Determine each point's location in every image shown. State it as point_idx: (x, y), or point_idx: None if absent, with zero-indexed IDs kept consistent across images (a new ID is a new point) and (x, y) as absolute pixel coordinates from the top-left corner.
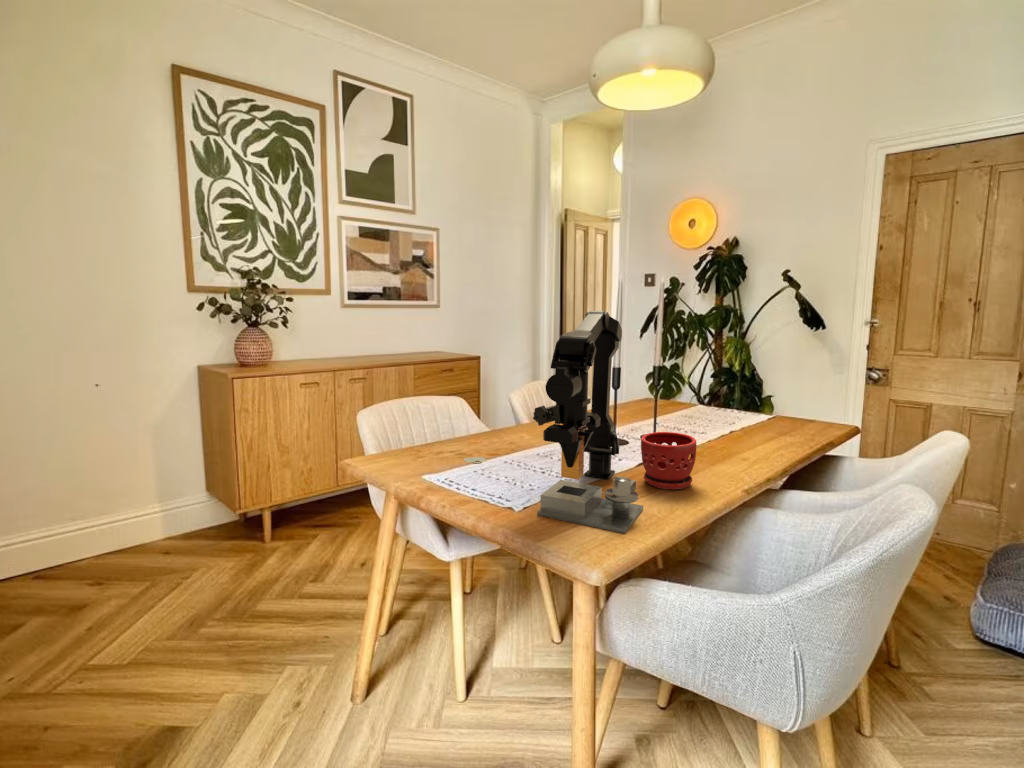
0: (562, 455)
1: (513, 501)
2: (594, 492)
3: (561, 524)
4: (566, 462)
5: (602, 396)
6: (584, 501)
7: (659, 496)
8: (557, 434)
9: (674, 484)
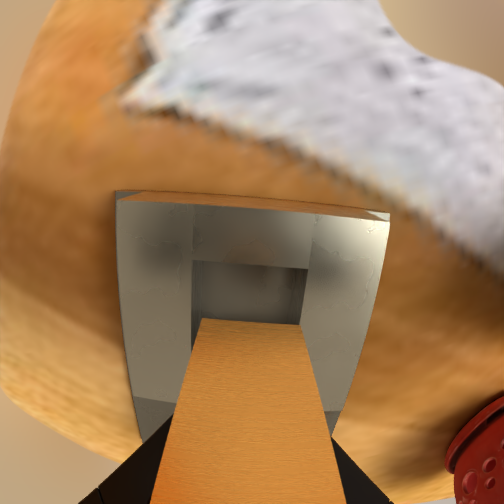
0: (165, 448)
1: (217, 42)
2: None
3: (97, 295)
4: (155, 435)
5: None
6: (149, 393)
7: (413, 448)
8: None
9: (446, 466)
